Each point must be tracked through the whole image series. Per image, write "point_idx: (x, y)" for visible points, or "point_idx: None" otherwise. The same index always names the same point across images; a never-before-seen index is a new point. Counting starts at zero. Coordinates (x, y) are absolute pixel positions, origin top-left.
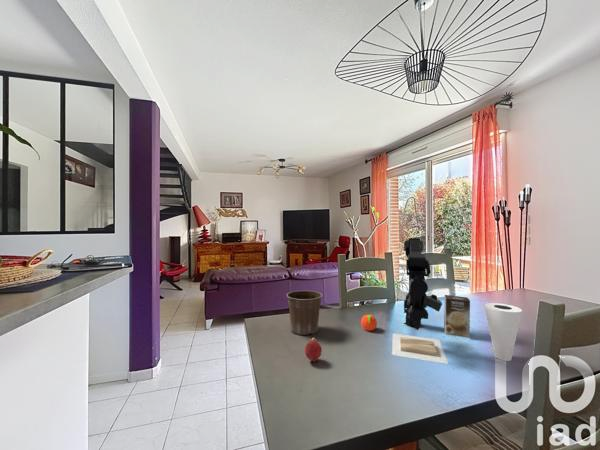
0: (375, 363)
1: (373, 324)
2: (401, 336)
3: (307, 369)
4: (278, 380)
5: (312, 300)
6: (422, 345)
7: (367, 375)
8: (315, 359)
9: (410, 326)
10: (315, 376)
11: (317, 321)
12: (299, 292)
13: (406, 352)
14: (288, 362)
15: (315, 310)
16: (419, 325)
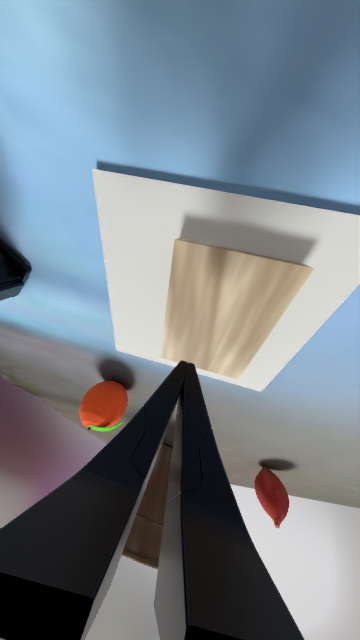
0: (292, 420)
1: (117, 404)
2: (128, 335)
3: (290, 475)
4: (312, 493)
5: (158, 560)
6: (229, 311)
7: (343, 443)
8: (278, 478)
9: (22, 280)
10: (315, 476)
11: (154, 467)
12: None
13: None
14: None
15: (156, 509)
16: (201, 393)
